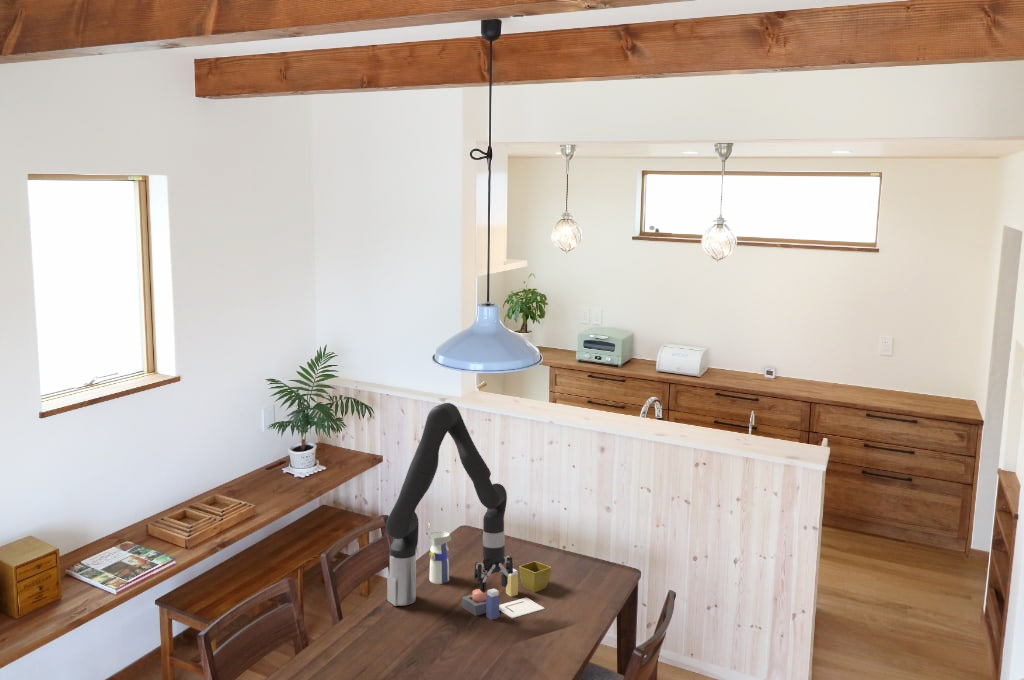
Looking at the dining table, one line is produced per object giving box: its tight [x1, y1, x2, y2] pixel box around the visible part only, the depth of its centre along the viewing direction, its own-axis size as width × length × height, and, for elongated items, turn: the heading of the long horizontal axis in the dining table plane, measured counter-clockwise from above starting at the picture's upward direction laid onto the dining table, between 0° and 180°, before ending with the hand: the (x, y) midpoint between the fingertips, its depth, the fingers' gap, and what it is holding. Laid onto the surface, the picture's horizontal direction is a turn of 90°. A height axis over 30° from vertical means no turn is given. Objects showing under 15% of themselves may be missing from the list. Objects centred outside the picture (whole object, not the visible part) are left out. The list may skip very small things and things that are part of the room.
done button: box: [471, 588, 487, 603], centre depth 296 cm, size 5×5×4 cm
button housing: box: [461, 594, 486, 617], centre depth 296 cm, size 9×9×4 cm
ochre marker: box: [505, 567, 519, 598], centre depth 308 cm, size 3×3×10 cm
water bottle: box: [427, 519, 452, 585], centre depth 316 cm, size 8×9×25 cm
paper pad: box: [499, 597, 546, 619], centre depth 297 cm, size 14×11×1 cm
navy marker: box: [485, 588, 500, 621], centre depth 289 cm, size 3×3×10 cm
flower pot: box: [518, 560, 552, 593], centre depth 313 cm, size 9×9×9 cm
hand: (493, 589), depth 288 cm, fingers open, 8 cm apart
